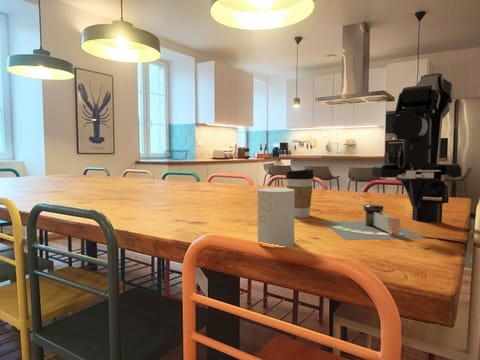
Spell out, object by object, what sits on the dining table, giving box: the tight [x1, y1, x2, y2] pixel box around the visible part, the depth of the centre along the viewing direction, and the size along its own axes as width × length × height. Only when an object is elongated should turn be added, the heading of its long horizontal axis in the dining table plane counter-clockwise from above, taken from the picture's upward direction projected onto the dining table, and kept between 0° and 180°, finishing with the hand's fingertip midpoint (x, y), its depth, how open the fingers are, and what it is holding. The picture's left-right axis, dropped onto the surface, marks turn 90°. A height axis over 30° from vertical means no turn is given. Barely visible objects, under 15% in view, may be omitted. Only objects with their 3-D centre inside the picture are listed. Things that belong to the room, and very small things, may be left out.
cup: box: [256, 187, 295, 248], centre depth 76 cm, size 8×8×12 cm
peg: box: [362, 203, 401, 234], centre depth 84 cm, size 15×5×5 cm, turn 2°
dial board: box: [321, 220, 427, 241], centre depth 85 cm, size 18×20×1 cm
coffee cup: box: [285, 169, 315, 218], centre depth 104 cm, size 8×8×15 cm
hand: (414, 207), depth 81 cm, fingers closed
